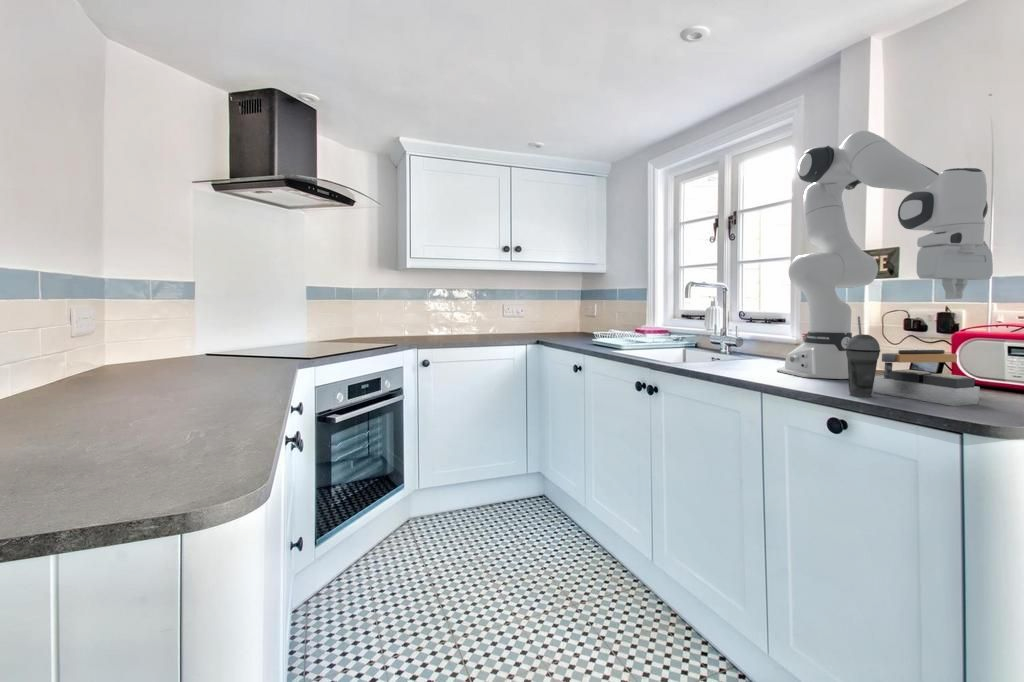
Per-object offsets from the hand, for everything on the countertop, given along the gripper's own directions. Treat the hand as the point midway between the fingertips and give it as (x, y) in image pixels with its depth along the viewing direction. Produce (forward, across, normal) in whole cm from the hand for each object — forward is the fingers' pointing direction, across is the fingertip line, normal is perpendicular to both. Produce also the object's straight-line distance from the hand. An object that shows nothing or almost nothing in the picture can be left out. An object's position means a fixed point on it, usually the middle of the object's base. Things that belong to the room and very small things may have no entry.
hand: (953, 299), depth 116 cm
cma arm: (+16, -8, -12) cm, 22 cm away
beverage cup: (+24, +12, -12) cm, 30 cm away
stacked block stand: (+24, 0, -6) cm, 25 cm away
